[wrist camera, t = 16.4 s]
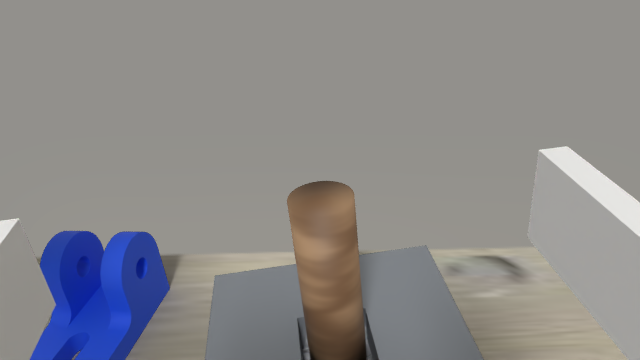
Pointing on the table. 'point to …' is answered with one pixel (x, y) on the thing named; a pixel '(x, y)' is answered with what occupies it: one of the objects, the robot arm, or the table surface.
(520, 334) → the table surface
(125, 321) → the bracket
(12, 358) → the robot arm
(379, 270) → the socket block
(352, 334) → the walnut dowel
